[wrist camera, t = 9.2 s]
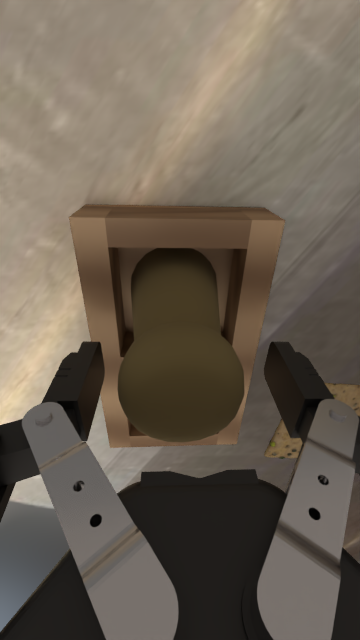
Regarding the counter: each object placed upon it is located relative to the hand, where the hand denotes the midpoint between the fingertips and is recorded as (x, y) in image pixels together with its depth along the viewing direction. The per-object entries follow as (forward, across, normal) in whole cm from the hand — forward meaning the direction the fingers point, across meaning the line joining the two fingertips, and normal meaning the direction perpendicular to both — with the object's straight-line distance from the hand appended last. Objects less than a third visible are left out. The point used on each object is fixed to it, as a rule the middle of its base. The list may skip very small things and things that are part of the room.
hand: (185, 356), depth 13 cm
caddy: (+8, 0, +4) cm, 9 cm away
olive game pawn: (+8, 0, 0) cm, 8 cm away
